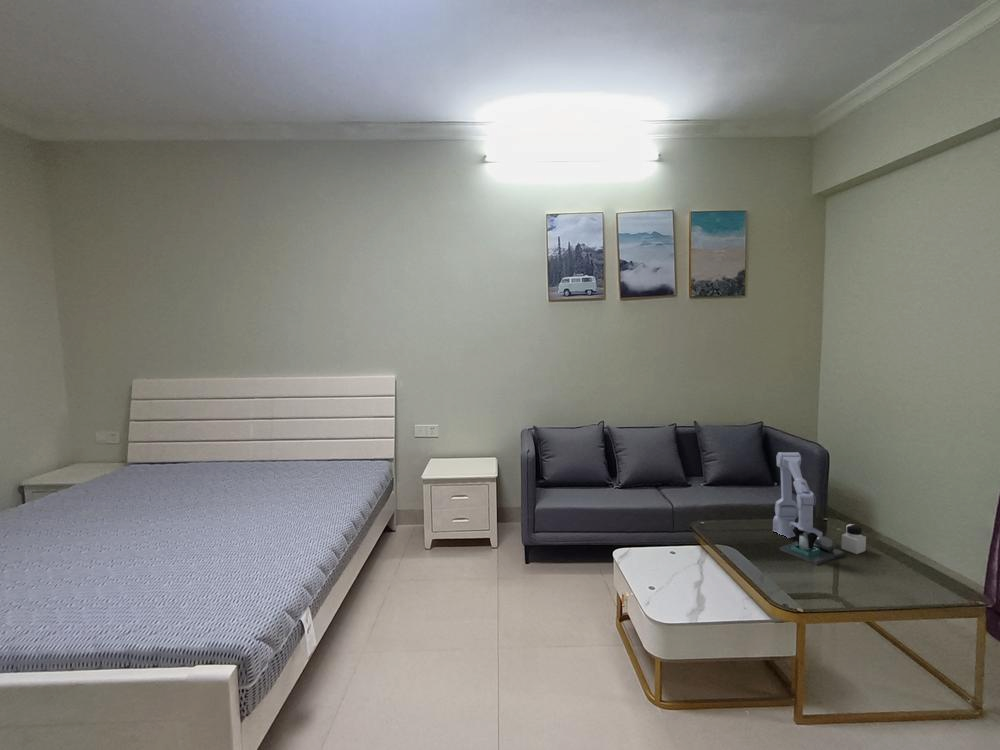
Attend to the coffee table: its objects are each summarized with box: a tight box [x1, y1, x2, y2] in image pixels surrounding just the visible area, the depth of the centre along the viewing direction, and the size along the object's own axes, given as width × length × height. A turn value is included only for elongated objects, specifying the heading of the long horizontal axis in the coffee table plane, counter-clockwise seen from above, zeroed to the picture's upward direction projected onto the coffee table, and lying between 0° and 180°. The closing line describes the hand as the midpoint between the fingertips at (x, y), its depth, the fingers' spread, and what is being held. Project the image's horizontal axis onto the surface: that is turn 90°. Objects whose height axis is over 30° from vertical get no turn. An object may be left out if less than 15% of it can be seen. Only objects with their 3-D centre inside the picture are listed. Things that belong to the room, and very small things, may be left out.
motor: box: [779, 531, 845, 566], centre depth 238 cm, size 18×20×7 cm
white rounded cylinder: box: [799, 534, 811, 552], centre depth 235 cm, size 5×5×6 cm
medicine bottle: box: [841, 523, 867, 555], centre depth 238 cm, size 7×7×12 cm
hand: (805, 545), depth 236 cm, fingers closed on white rounded cylinder, 5 cm apart
